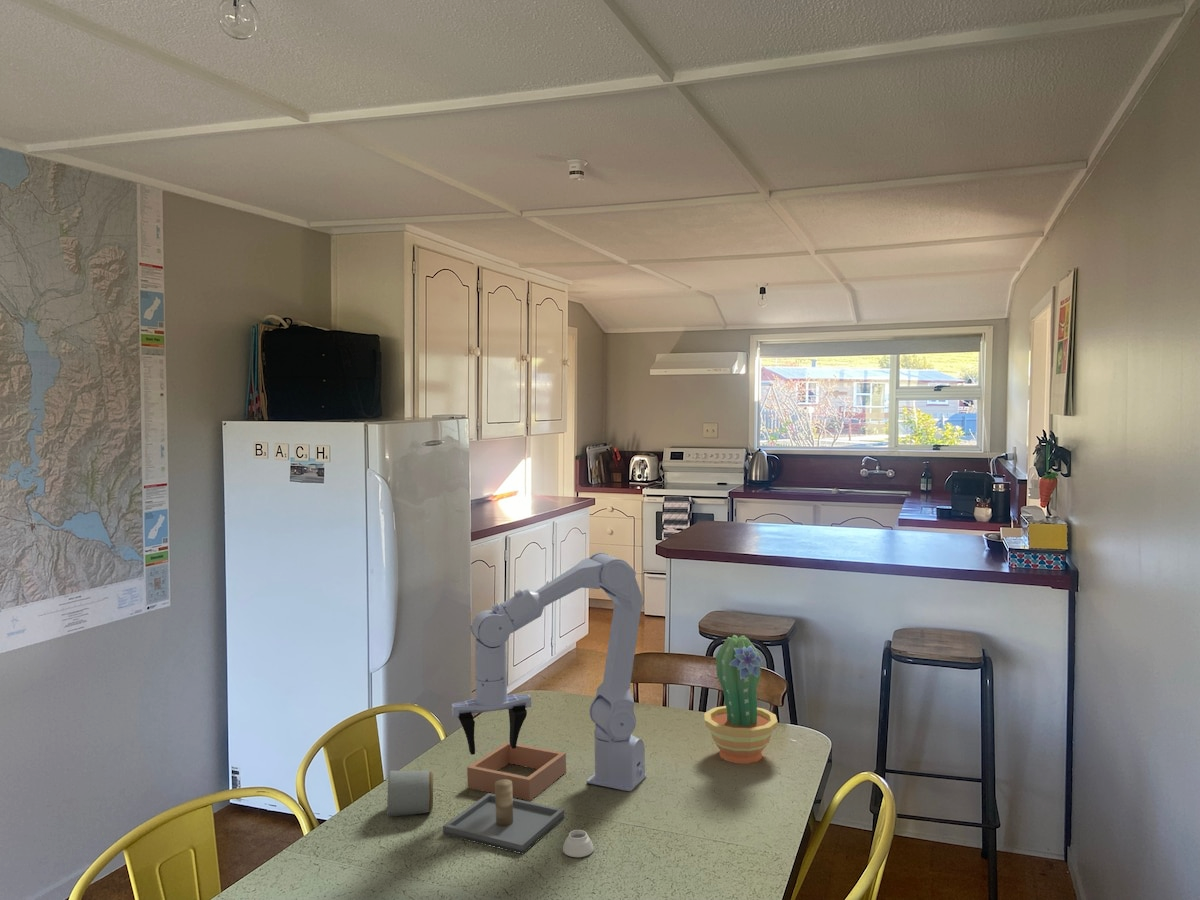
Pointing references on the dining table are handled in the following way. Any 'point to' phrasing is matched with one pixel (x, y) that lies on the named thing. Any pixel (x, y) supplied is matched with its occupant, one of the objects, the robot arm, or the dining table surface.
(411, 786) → the ceramic mug
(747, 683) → the potted cactus
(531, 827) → the slate tray
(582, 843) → the white jar
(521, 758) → the terracotta planter box
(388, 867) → the dining table surface
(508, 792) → the maple pin
